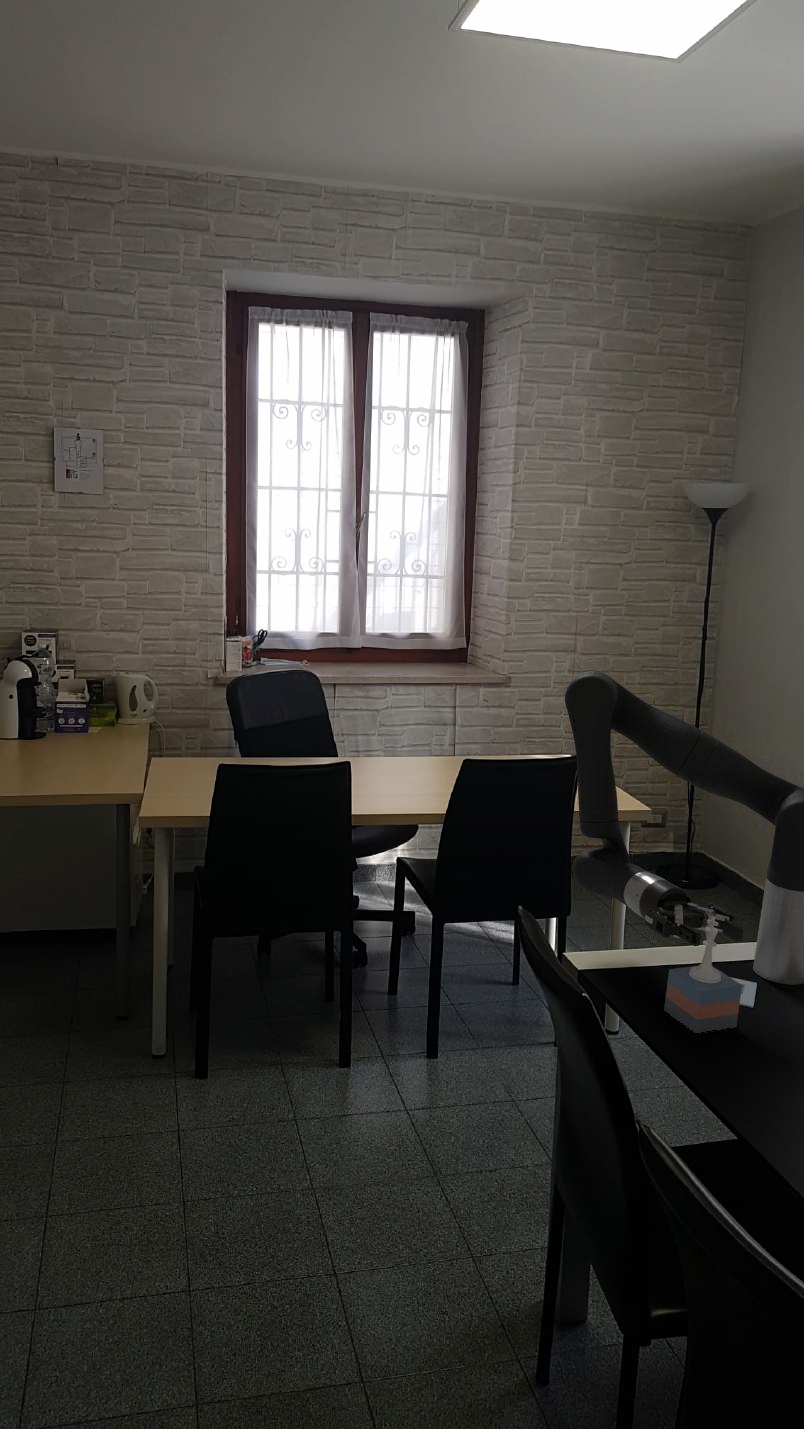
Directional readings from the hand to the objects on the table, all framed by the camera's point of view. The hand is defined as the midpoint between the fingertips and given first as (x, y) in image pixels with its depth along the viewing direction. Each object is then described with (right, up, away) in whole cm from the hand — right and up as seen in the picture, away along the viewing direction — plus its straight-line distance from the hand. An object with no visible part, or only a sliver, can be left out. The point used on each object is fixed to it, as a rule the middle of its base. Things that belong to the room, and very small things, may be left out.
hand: (719, 937), depth 167 cm
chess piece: (-1, -7, +3) cm, 8 cm away
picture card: (+7, -12, +16) cm, 21 cm away
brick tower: (-2, -14, +5) cm, 15 cm away
